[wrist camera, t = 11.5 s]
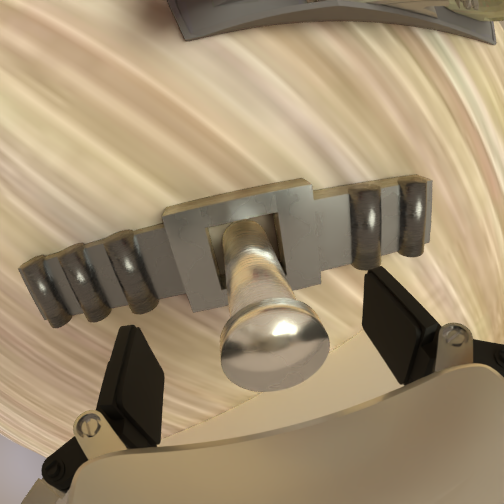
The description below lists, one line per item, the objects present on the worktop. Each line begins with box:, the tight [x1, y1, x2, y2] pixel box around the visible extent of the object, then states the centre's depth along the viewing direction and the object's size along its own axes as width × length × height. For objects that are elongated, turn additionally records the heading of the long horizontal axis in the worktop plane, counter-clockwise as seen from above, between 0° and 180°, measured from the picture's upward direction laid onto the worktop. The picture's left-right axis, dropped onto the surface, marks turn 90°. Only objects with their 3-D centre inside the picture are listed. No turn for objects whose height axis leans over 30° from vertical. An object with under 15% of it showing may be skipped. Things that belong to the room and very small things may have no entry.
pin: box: [220, 220, 330, 392], centre depth 15 cm, size 4×4×11 cm
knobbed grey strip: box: [18, 174, 432, 328], centre depth 18 cm, size 32×7×3 cm, turn 100°
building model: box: [157, 329, 404, 447], centre depth 29 cm, size 45×22×10 cm, turn 127°
